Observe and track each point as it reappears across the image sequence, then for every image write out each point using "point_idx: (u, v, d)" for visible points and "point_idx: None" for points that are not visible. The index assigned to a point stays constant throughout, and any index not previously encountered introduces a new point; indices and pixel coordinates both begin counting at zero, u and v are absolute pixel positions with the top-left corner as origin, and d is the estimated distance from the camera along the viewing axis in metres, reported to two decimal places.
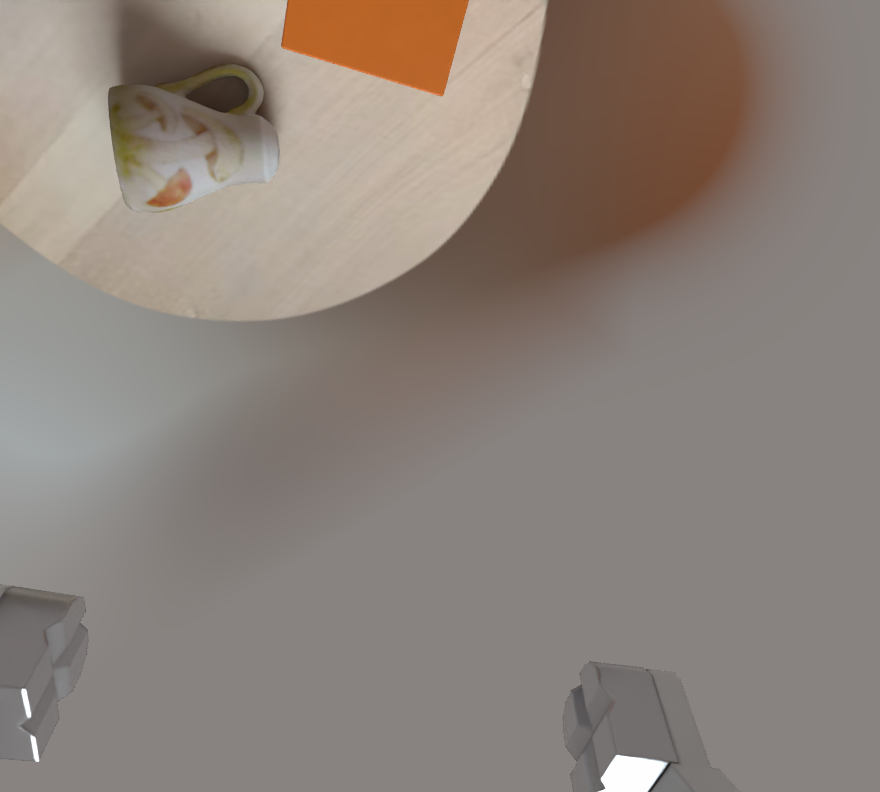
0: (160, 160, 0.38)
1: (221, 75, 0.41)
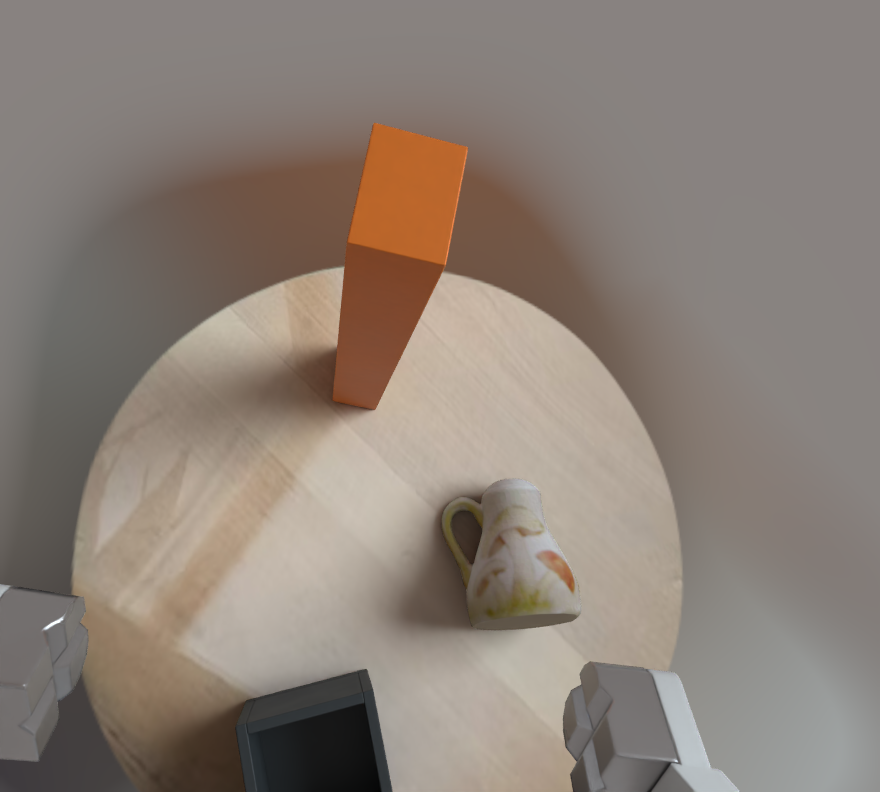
0: (532, 573, 0.41)
1: (451, 533, 0.46)
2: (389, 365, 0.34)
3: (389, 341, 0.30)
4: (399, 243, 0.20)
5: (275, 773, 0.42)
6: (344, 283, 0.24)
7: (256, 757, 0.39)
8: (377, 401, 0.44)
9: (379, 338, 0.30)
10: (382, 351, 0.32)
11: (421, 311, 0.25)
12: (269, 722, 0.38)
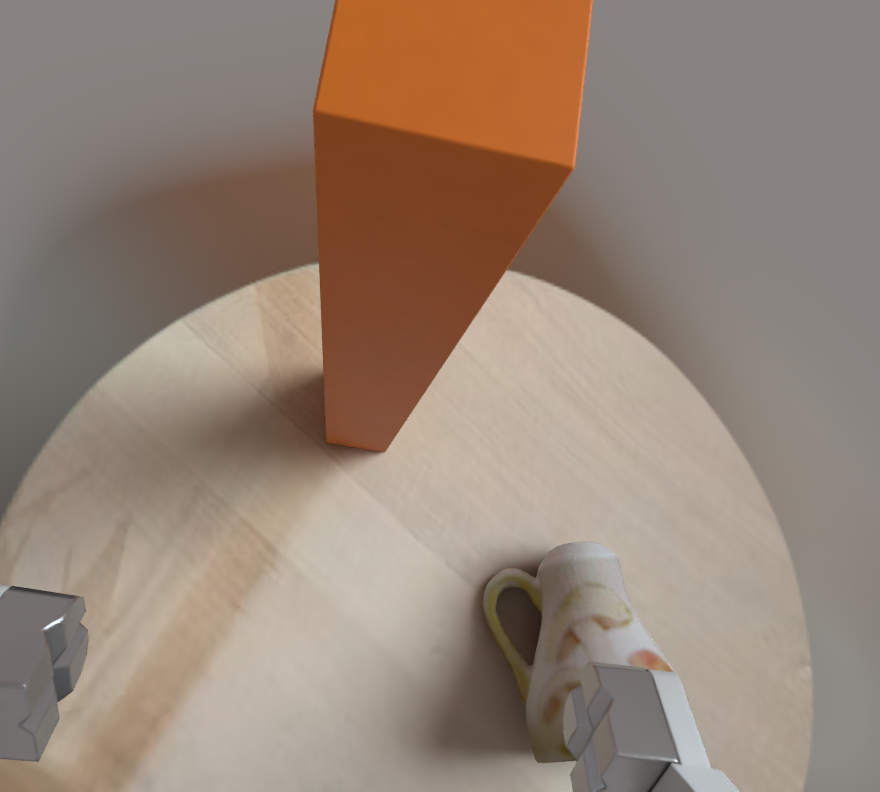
0: None
1: (498, 620, 0.33)
2: (408, 399, 0.21)
3: (411, 362, 0.17)
4: (452, 114, 0.08)
5: None
6: (321, 246, 0.11)
7: None
8: (388, 443, 0.32)
9: (393, 357, 0.17)
10: (398, 378, 0.19)
11: (481, 302, 0.12)
12: None
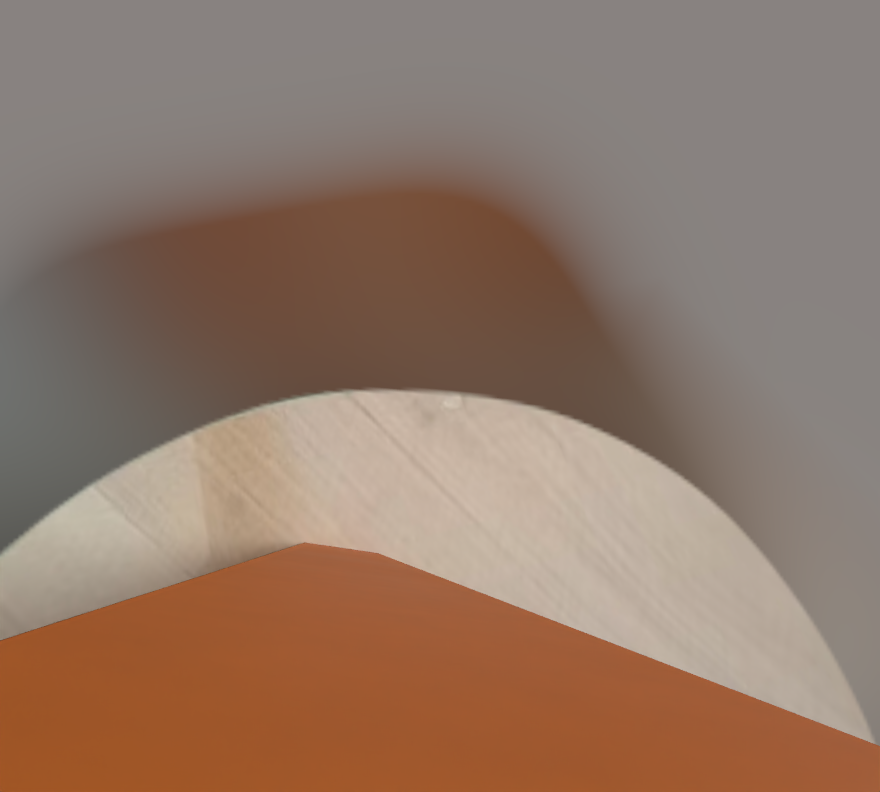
0: None
1: None
2: None
3: None
4: None
5: None
6: None
7: None
8: None
9: None
10: None
11: None
12: None
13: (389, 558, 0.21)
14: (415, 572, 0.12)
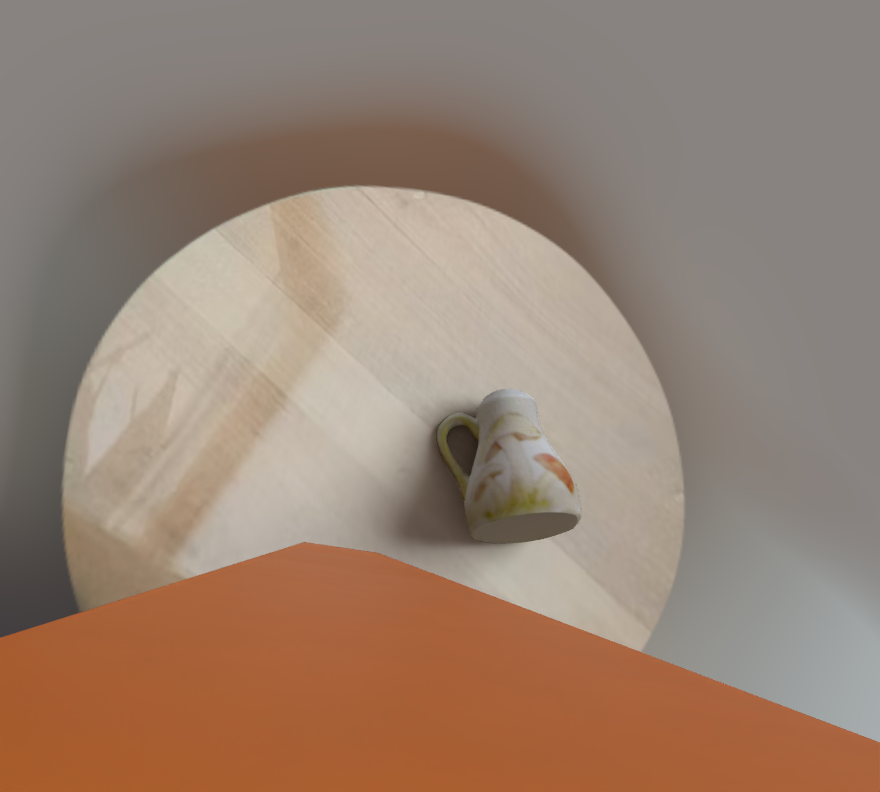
0: (529, 473, 0.40)
1: (447, 447, 0.46)
2: None
3: None
4: None
5: None
6: None
7: None
8: None
9: None
10: None
11: None
12: None
13: None
14: (415, 571, 0.12)
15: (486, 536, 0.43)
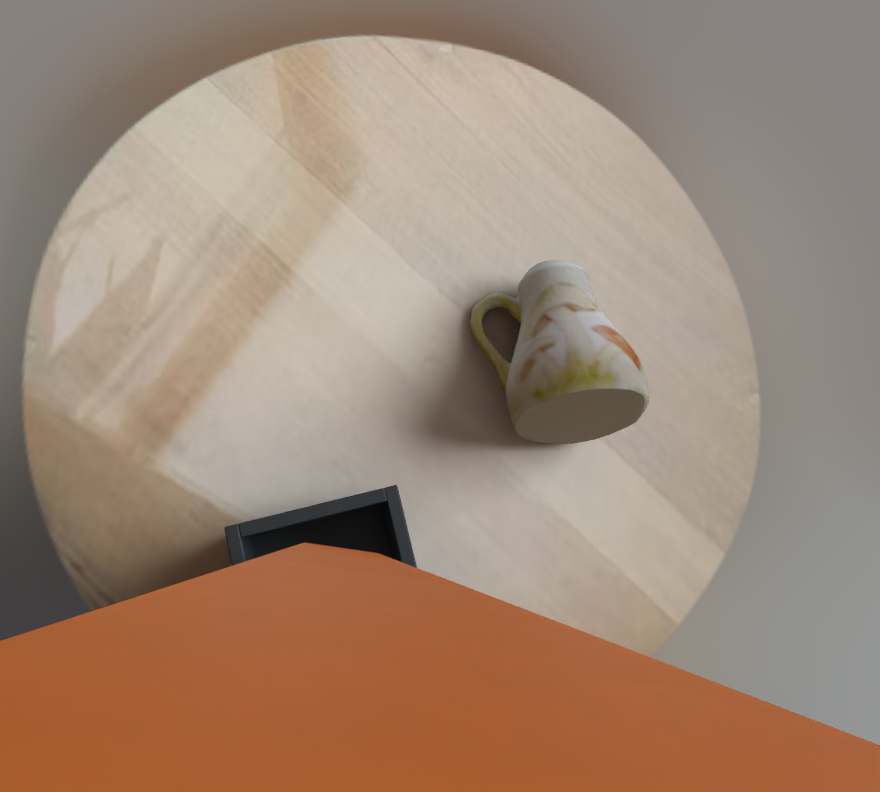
0: (588, 344, 0.33)
1: (483, 331, 0.38)
2: None
3: None
4: None
5: None
6: None
7: None
8: None
9: None
10: None
11: None
12: (267, 522, 0.30)
13: (389, 558, 0.21)
14: (415, 572, 0.12)
15: (532, 429, 0.36)
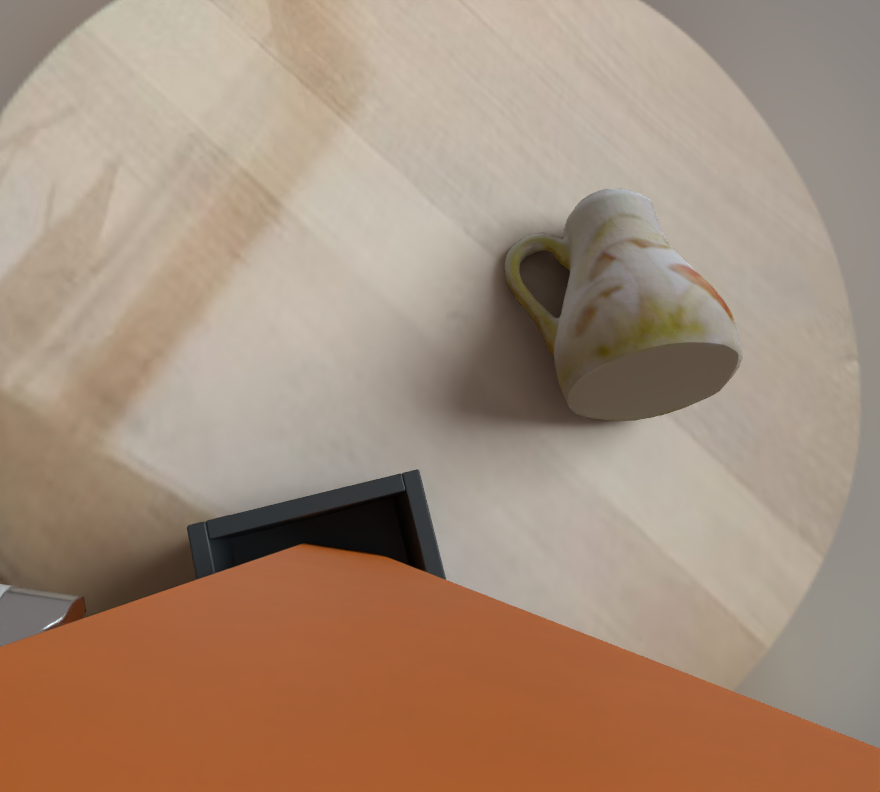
0: (667, 286, 0.25)
1: (521, 280, 0.31)
2: None
3: None
4: None
5: None
6: None
7: None
8: None
9: None
10: None
11: None
12: (245, 519, 0.22)
13: (389, 558, 0.21)
14: (414, 572, 0.13)
15: (588, 401, 0.28)
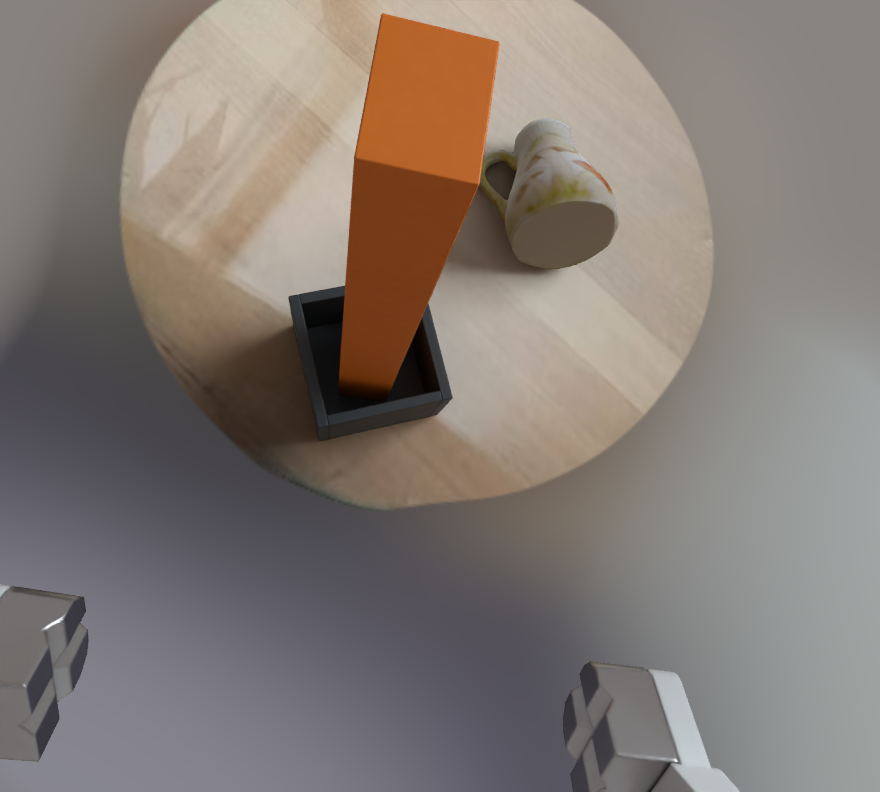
0: (569, 170, 0.42)
1: (486, 179, 0.47)
2: (402, 342, 0.30)
3: (403, 308, 0.26)
4: (420, 159, 0.16)
5: (325, 386, 0.43)
6: (351, 225, 0.19)
7: None
8: (388, 391, 0.40)
9: (392, 304, 0.25)
10: (395, 323, 0.28)
11: (444, 260, 0.21)
12: (321, 294, 0.39)
13: None
14: None
15: (526, 248, 0.45)
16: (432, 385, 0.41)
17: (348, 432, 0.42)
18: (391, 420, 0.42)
